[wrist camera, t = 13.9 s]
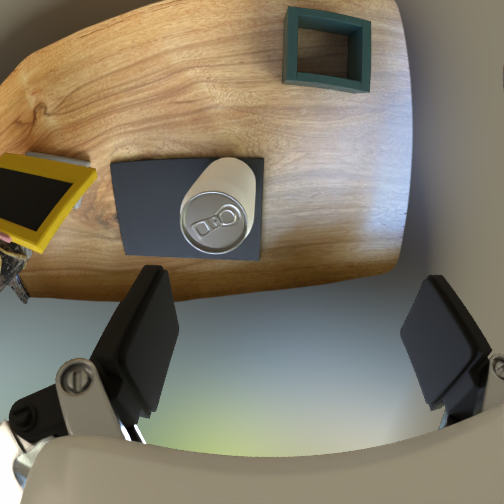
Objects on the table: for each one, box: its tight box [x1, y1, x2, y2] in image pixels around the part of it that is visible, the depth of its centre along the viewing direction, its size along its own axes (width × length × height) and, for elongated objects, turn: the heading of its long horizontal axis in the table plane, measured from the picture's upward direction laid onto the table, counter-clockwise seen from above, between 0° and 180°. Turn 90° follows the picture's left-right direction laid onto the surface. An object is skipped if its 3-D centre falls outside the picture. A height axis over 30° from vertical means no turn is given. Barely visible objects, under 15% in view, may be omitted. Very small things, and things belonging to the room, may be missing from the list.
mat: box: [110, 157, 264, 261], centre depth 34 cm, size 20×14×1 cm
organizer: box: [282, 6, 371, 93], centre depth 22 cm, size 9×9×5 cm
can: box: [180, 157, 256, 254], centre depth 27 cm, size 6×6×12 cm
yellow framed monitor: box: [0, 151, 97, 253], centre depth 25 cm, size 20×8×16 cm, turn 73°
